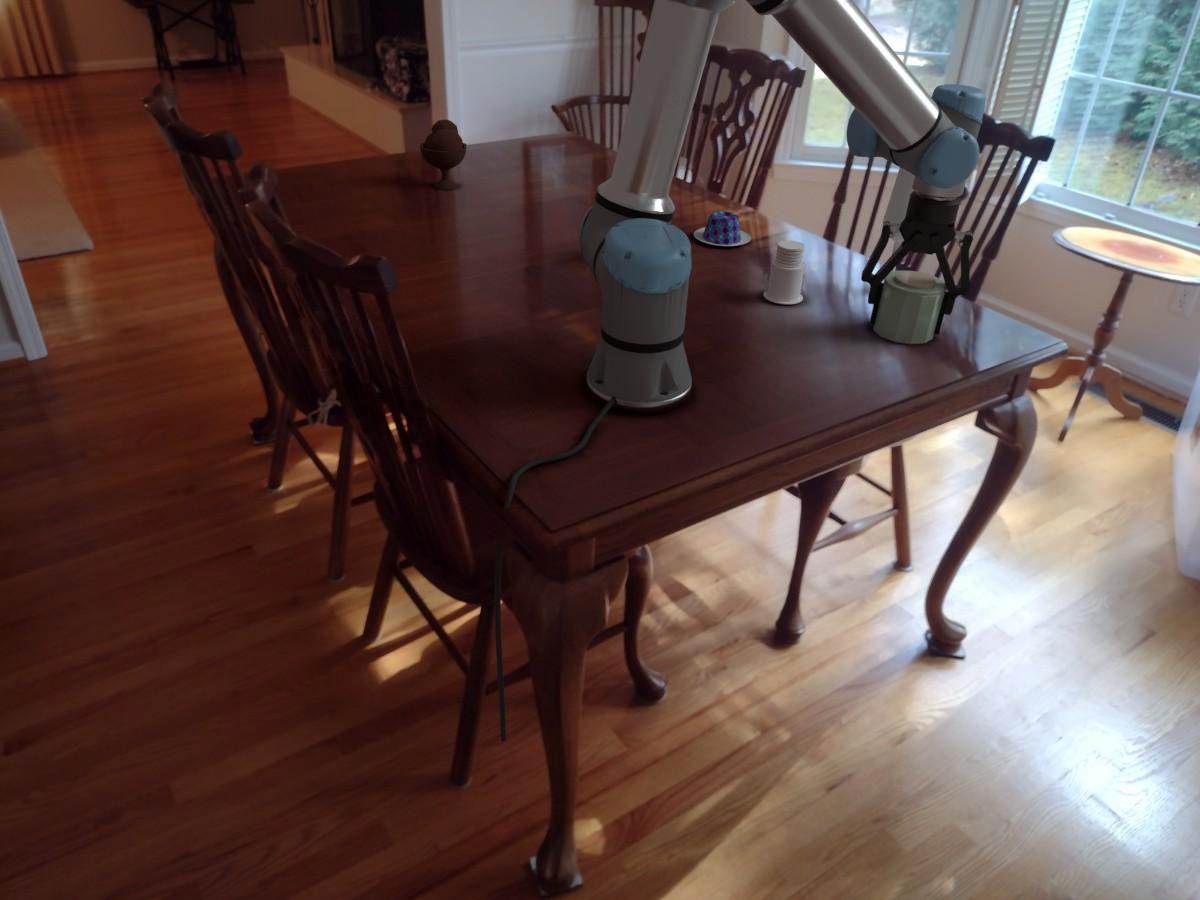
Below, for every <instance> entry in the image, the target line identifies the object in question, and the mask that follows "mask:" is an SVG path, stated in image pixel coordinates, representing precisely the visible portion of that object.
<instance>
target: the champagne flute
mask: <svg viewBox="0 0 1200 900" xmlns="http://www.w3.org/2000/svg"><path fill="white" fill-rule="evenodd" d="M913 180H914V175H913V174H911V173H909V172H908V171H906V170H904V169H902V168H900V167H899V168H898V172H897V174H896V178H895V181H894V184H893V188H892V190H891V194H890V197H889V200H888V204H887V206H886V210H885V213H884V216H883V219H882V224H883V223H884V222H885V221H889V222H890V224H901V222H902V221H903V220H904V218H905V215H906V211H907V207H908V202H909V198H910V194H911V193H912V192H913V191H914V190H913V188H912V185H913ZM890 239H891V240H892V241H894V243H893V247H892V252H891V255H892V254H893V253H894V252H895V251H896V250H897V249H898V247H899V246H900V244H901V243H902V242H903V241H904V239H903V237H902V235H901V233H900V232H896V233H895V235H894V237H892V238H890ZM896 268H897V266H896V267H895V268H894V269H893V270H892V271H891V272H894V271H896ZM869 291H870V287H868V289H867V292H869Z"/></svg>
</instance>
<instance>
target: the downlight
mask: <svg viewBox="0 0 1200 900" xmlns="http://www.w3.org/2000/svg"><path fill="white" fill-rule="evenodd" d="M804 252H805V244H804V243H803V242H800V241H797V240H789V239H787V240H780V241H779V242H777V247H776V255H775V258H773V259H772V260H771V264H770V271H769V275H768V273H765V274H764V278H763V279H764V280H763V282H764V288H765V290H764V292H763V298H764V299H766V300H767V301H769V302H771V303H774V304H779V305H797V304H799V303H801V302H803V300H804V296H803V295H802V294H801V291H803V292H806V287H807V279H806V271H805V267H806V264H805V262H803V259H804ZM768 276H769V278H768ZM767 281H768V283H767Z"/></svg>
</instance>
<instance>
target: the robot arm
mask: <svg viewBox="0 0 1200 900" xmlns="http://www.w3.org/2000/svg"><path fill="white" fill-rule="evenodd" d="M745 2H747V3H748V5H750V6H751V8H752V9H753V10H754V11H755V13H756V14H758V15H759V16H770V15H771V16H772V17H773V18H774V19H775V21H776V22H777V23H778V24H779V25H780V26H781V27H782V28H783V29H784V31H786V33H787V34H788V35H789V36H790V38H792V39H793V40H794V41H795V43H796V44H797V45H798V46H799V47H800V48H801V49H802V50H803V52H804V53H805V54H806V55H807V56H808V57H809V58H810V60H811V61H812V62H813V63H814V64H815V65H816V67H818V69H819V70H820V71H821V72H822V73H823V74H824V75H825V76H826V78H828V80H829V81H830V82H831V83H832V84H833V86H835V88H837V91H839V92H840V93H841V94H842V96H844V98H846V100H847V101H848V102H849V104H851V106H853V108H854V109H853V110H852V112H851V113H850V115H849V118H848V121H847V122H848V123H847V127H846V143H847V147H848V150H849V152H850V153H851V155H854V156H855V157H857V158H868V159H873V158H882V159H884V160H886V161H888V162H889V163H891V164H893V165H895V166H897V167H899V168H902V169H904V170H906V171H908V172H909V173H911V174H913V175H914V180H913V185H912V188H913V190H914V191H913V192H912V193H911V194H910V198H909V202H908V207H907V211H906V215H905V218H904V220H903V221H902V222H901V224H890V222H889V221H885V222H884V223H883V222H882V228H881V234H880V237H879V239H878V240H877V241H876V244H875V246H874V248H873V250H872V251H871V254H870V256H869V258H868V260H867V262H866V263H865V265H864V268H863V270H862V272H861V276H860V279H861V282H864V283H868V284H869V286H870V287H869V288H870V291H868V296H867V304H868V305H872V310H871V315H870V321H869V325H871V326H874V325H875V321H876V317H877V312H878V308H879V303H880V299H881V294H882V290H883V281H884V279H885V278H886V277H887V276H888V274H889V273H890V272H891V271H892V270H893V269H894V268H895V267H896V268H897V266H898V265H899V263H901V261H902V260H903V259H904V258H905V257H906V256H907V255H908V254H909V253H910V252H912V253H914V254H920V253H923V254H925V255H930V256H933V254H935V256H936V259H937V262H938V265H939V268H940V271H941V275H942V277H943V280H944V281H943V282H944V283H945V285H946V287H945V288H946V289H947V291H946V290H945V294H944V298H943V301H942V305H941V309H940V313H939V317H938V320H937V324H936V328H935V332H934V335H940V331H941V328H942V324H943V320H944V316H947V315H948V316H950V315H951V314H952V313H953V310H954V305H955V303H956V299H957V298H958V297H959V296H968V295H970V293H971V276H970V275H971V274H970V273H971V271H970V249H971V246H972V243H973V240H974V235H973V232H972V231H971V230H966V231H960V230H957V229H956V226H955V225H956V221H957V217H958V214H959V209H960V206H961V202H962V200H961V198H960V196H962V195H963V194H964V190H965V186H966V182H967V179H968V178H970V176H971V175H972V174H973V172H974V171H975V169H976V168H977V165H978V162H979V159H980V146H979V143H978V136H979V133H980V130H981V127H982V124H983V117H984V113H985V108H986V102H987V101H986V100H987V95H986V93H985V92H984V91H983V90H982V89H981V88H978V87H975V86H971V85H965V84H952V83H951V84H950V83H949V84H948V83H947V84H939V85H937V86H936V87H935V88H934V90H933V92H932V95H930V94H929V92H928V91H927V90H926V89H925V87H924V86H923V85H922V84H921V83H920V81H918V79H917V78H916V77H915V75H914V74H913V73H912V71H910V69H909V68H908V66H906V64H905V63H904V62H903V61H902V59H901V57H899V56H898V54H897V53H896V52H895V51H894V49H893V48H892V47H891V46H890V44H889V43H888V42H887V40H885V38H884V37H883V36H882V34H881V33H880V32H879V31H878V29H877V28H876V27H875V26H874V25H873V23H872V22H871V21H870V20H869V19H868V17H867V16H866V15H865V14H864V12H863V11H862V10H861V9H860V8H859V6H858V5H857V3H855V1H854V0H745ZM735 3H736V0H654V2H653V5H652V11H651V15H650V18H649V23H648V27H647V29H646V35H645V38H644V42H643V46H642V51H641V54H640V58H639V63H638V67H637V71H636V74H635V75H636V76H635V79H634V82H633V87H632V91H631V95H630V99H629V103H628V107H627V111H626V115H625V120H624V123H623V127H622V131H621V136H620V139H619V144H618V148H617V152H616V156H615V160H614V164H613V169H612V172H611V177H610V178H609V179H607V180H606V181H604V182H602V183H601V184H599V185H598V186H597V188H596V192H595V196H594V200H593V205H592V206H591V207H589V208H588V210H587V211H586V212H585V214H584V216H583V218H582V221H581V223H580V226H579V227H580V228H579V233H578V235H579V249H580V253H581V255H582V258H583V260H584V261H583V262H584V263H585V264H586V265H587V267H588V269H589V270H590V272H591V275H592V276H593V278H594V280H595V282H596V284H597V285H598V287H599V289H600V291H601V321H600V322H601V323H600V324H601V325H600V326H601V327H600V339H599V341H598V344H597V347H596V349H595V352H594V354H593V357H592V359H591V362H590V365H589V367H588V369H587V372H586V391H587V394H588V395H589V396H590V398H592V400H593V401H595V402H596V403H598V404H600V405H601V406H603V408H602V409H601V410H600V411H599V413H598V414H597V416H596V417H595V418H594V419H593V421H592V422H591V423H590V425H589V426H588V428H587V429H586V431H585V433H584V436H583V437H582V439H581V440H580V442H579V443H578V444H577V445H576V446H574V447H573V448H571V449H569V450H567V451H564V452H561V453H557V454H553V455H549V456H545V457H540V458H536V459H534V460H531V461H529V462H527V463H525V464H524V465H522V466H520V467H519V468H518V469H517V470H515V472H513V474H512V476H511V478H510V481H509V485H508V489H507V493H506V496H505V499H504V502H503V509H509V508H510V506H511V504H512V500H513V497H514V494H515V490H516V485H517V483H518V480H519V478H520V477H521V476H522V475H523V474H524V473H525V472H526V471H528V470H530V469H532V468H534V467H538V466H541V465H545V464H549V463H553V462H557V461H562V460H564V459H567V458H570V457H572V456H573V455H575V454H577V453H578V452H580V451H581V450H582V449H583V448H584V447H585V446H586V445H587V444H588V442H589V440H590V438H591V436H592V434H593V432H594V430H595V429H596V427H597V426H598V425H599V423H600V422H601V421H602V420H603V418H604V417H605V416H606V414H608V412H609V411H610V410H614V411H616V412H621V413H626V414H631V415H632V414H634V415H654V414H655V415H656V414H662V413H667V412H669V411H673V410H675V409H677V408H680V407H681V406H683V405H684V404H686V403H687V402H688V400H689V399H690V397H691V394H692V385H693V377H692V374H693V372H692V368H691V367H690V366H689V361H688V358H687V353H686V350H685V346H684V337H685V336H684V335H685V325H686V316H687V306H688V295H689V286H690V285H689V284H690V276H691V275H690V274H691V272H692V267H693V263H692V261H693V260H692V246H691V242H690V239H689V238H688V236H687V234H686V233H685V232H684V231H683V230H682V229H680V228H678V227H677V226H675V225H674V224H672V221H673V218H674V214H675V210H676V206H675V205H674V202H673V200H672V198H671V197H670V194H669V193H670V189H671V186H672V182H673V178H674V175H675V171H676V168H677V165H678V161H679V158H680V153H681V149H682V148H683V143H684V140H685V136H686V134H687V129H688V125H689V122H690V119H691V115H692V111H693V108H694V105H695V100H696V98H697V94H698V90H699V87H700V83H701V80H702V76H703V72H704V69H705V66H706V62H707V59H708V55H709V52H710V48H711V45H712V41H713V38H714V33H715V30H716V28H717V24H718V19H719V16H720V15H721V13H722V12H723V11H725V10H727V9H728V8H730V7H732V5H735ZM896 232H900V233H901V235H902V237H903V239H904V241H903V242H901V244H900V246H899V247H898V249H897V250H896V251H895V252H894V253H893V254H892V253H891V255H890V257H888V259H886V261H884V263H883V265H882V266H880V267H879V268H878V270H877V271H876V272H875V273H874V274H873V272H874V270H875V268H876V267H877V265H878V263H879V261H880V259H881V257H882V254H883V253H884V251H885V249H886V247H887V245H888V243H889V240H890V239H891V238H892V237H894V235H895V233H896ZM954 239H955V240H956V245H957V246H958V247H959V253H960V254H959V255H960V256H959V258H960V284H957V285H956V282H955V279H954V276H953V271H952V269H951V267H950V266H951V265H950V262H949V259H948V256H947V254H946V250H945V249H946V248H945V247H946V246H947V245H948V244H949V243H951V241H952V240H954ZM896 268H895V269H896ZM503 553H504V544H502V543H496V555H495V568H494V570H495V571H494V573H495V574H494V635H495V636H494V637H495V654H496V655H495V657H496V668H497V669H496V671H497V686H498V687H497V689H498V701H499V704H498V705H499V726H500V727H499V732H500V741H501V742H506V741H507V721H506V719H507V718H506V699H505V683H504V682H505V680H504V662H503V647H502V646H503V643H502V641H503V640H502V613H501V612H502V611H501V610H502V608H501V606H502V605H501V604H502V603H501V601H502V600H501V599H502V597H501V596H502V595H501V594H502V569H503Z"/></svg>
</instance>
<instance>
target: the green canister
mask: <svg viewBox="0 0 1200 900" xmlns="http://www.w3.org/2000/svg"><path fill="white" fill-rule="evenodd" d="M882 283H883V290H882V294H881V299H880V303H879V308H878V312H877V317H876V321H875V325H873V331H874V332H875V333H876V334H877V335H878V336H879V337H881V338H883V339H886V340H888V341H891V342H893V343H898V344H906V345H920V344H926V343H928V342H929V341H931V340H933V339H934V335H935V334H934V332H935V328H936V324H937V320H938V317H939V313H940V309H941V305H942V301H943V298H944V294H945V291H946V288H947V287H946V284H945V281H943V280H942V279H941V278H939V277H937V276H935V275H931V274H930V273H926V272H921V271H916V270H915V271H914V270H895V271H894V272H890V273H889V274H888V276H887V277H886V278H885V279H884V280H883V281H882Z"/></svg>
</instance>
